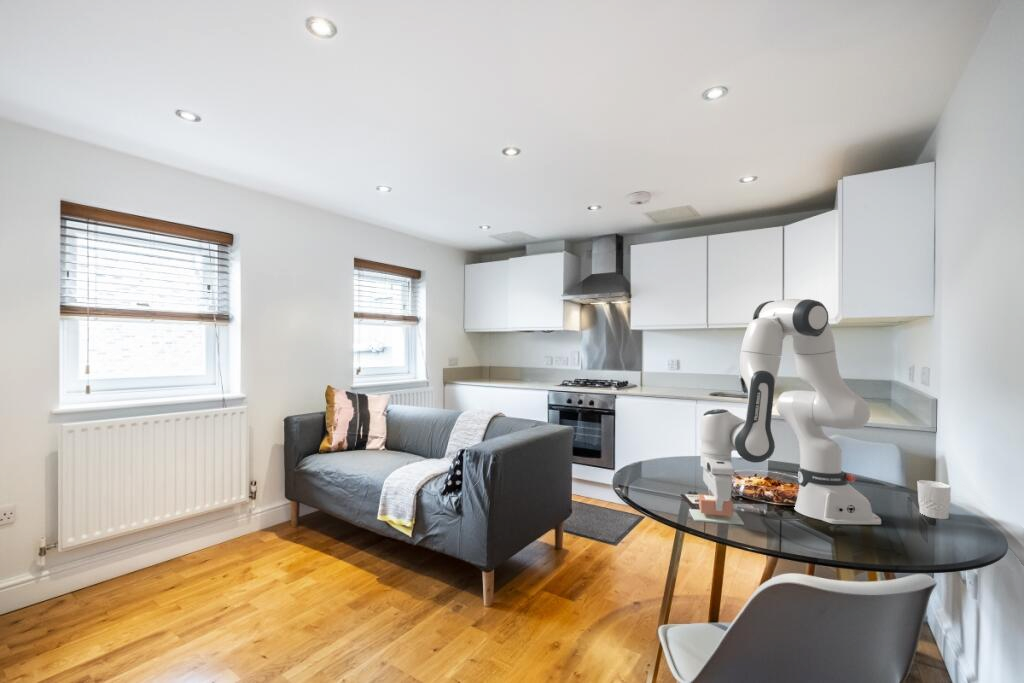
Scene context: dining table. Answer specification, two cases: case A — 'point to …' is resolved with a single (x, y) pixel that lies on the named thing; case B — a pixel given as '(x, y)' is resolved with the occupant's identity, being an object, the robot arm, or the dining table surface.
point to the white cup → (934, 499)
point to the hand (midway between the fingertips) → (715, 505)
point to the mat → (715, 517)
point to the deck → (709, 506)
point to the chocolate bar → (692, 500)
